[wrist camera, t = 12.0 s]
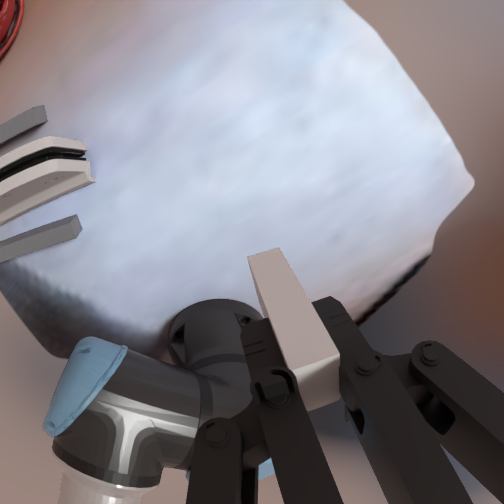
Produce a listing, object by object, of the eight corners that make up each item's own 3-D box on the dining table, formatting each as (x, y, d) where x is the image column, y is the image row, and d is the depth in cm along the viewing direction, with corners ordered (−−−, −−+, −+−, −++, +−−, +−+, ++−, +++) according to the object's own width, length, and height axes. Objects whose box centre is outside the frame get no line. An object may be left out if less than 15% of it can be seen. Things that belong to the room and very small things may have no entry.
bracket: (82, 228, 34) (76, 238, 31) (-3, 257, 32) (-11, 266, 30) (43, 105, 25) (34, 107, 23) (-42, 155, 24) (-53, 160, 22)
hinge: (1, 225, 31) (-48, 236, 21) (-6, 192, 30) (-55, 195, 20) (99, 180, 31) (57, 177, 22) (90, 142, 30) (48, 127, 21)
